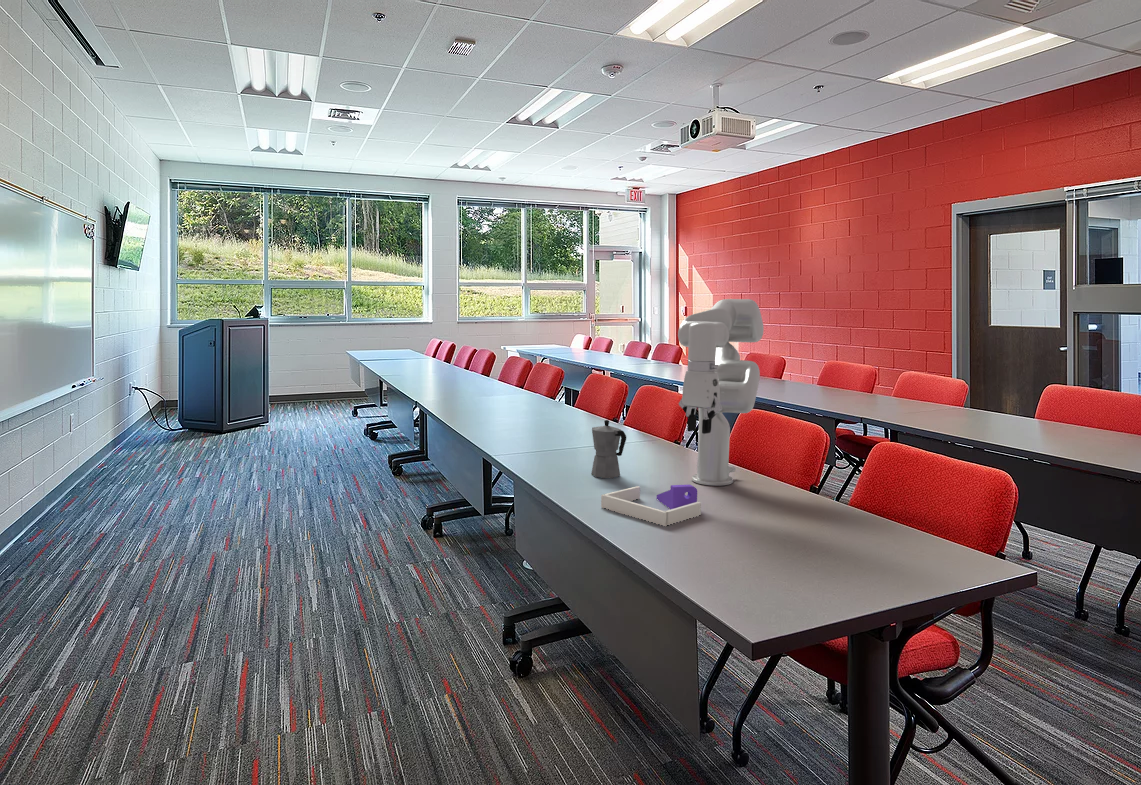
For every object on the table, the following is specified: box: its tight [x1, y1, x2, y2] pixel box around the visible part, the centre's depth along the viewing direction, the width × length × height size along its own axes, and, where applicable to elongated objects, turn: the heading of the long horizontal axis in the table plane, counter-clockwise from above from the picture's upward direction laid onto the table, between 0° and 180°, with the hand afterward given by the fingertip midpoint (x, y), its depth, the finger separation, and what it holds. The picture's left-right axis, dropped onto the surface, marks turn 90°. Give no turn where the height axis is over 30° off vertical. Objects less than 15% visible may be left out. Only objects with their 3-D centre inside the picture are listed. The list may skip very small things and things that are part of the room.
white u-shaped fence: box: [600, 485, 702, 527], centre depth 186 cm, size 14×22×4 cm, turn 43°
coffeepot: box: [591, 419, 627, 479], centre depth 224 cm, size 15×9×18 cm, turn 39°
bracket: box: [656, 484, 698, 510], centre depth 193 cm, size 12×7×7 cm, turn 14°
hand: (699, 431), depth 197 cm, fingers open, 4 cm apart
